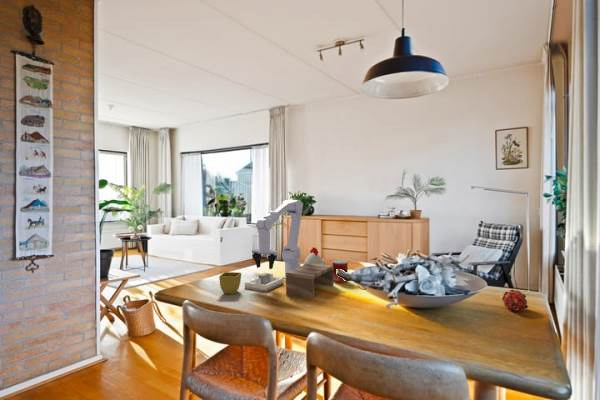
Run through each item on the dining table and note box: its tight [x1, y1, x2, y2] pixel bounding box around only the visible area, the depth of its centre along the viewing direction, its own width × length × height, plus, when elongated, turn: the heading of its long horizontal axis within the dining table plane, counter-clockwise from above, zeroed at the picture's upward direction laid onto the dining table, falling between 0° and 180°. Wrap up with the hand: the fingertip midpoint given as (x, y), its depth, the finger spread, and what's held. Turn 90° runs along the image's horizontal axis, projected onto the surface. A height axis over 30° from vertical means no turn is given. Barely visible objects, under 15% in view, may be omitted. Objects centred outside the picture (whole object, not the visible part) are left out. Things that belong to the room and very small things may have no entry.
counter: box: [285, 263, 335, 300], centre depth 168 cm, size 24×14×10 cm, turn 151°
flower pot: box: [218, 271, 242, 295], centre depth 165 cm, size 9×9×9 cm
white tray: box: [244, 272, 284, 292], centre depth 176 cm, size 16×13×6 cm
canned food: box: [332, 259, 349, 284], centre depth 183 cm, size 8×8×11 cm
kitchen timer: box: [302, 247, 326, 266], centre depth 204 cm, size 14×14×15 cm
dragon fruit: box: [501, 289, 529, 312], centre depth 137 cm, size 8×8×12 cm
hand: (264, 268), depth 175 cm, fingers open, 7 cm apart
